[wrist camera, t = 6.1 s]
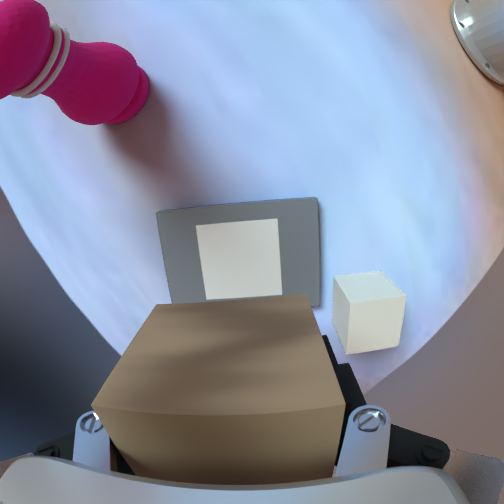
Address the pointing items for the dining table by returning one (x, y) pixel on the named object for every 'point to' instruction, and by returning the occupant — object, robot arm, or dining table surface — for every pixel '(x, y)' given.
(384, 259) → the dining table surface
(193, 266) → the pad
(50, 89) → the pepper mill
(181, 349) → the walnut block
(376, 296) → the cream block
